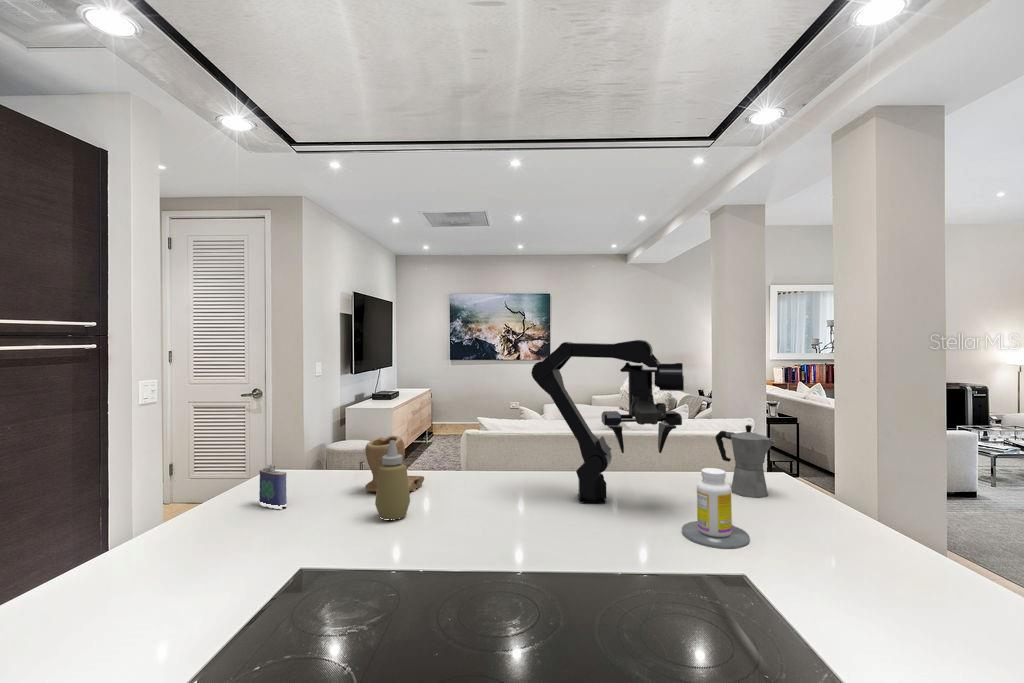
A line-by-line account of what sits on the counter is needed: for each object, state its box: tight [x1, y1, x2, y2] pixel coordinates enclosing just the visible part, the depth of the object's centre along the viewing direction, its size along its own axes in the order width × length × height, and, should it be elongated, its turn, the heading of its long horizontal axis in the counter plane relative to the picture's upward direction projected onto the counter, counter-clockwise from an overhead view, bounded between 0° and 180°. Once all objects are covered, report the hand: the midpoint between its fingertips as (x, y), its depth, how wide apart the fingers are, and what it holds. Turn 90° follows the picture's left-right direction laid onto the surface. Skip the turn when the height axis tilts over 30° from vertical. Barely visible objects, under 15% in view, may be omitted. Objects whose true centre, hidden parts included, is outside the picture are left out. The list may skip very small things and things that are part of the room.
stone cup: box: [364, 435, 425, 493], centre depth 133 cm, size 15×12×15 cm
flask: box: [258, 463, 288, 506], centre depth 121 cm, size 9×3×11 cm, turn 61°
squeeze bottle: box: [374, 440, 411, 520], centre depth 113 cm, size 8×8×18 cm
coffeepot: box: [714, 424, 777, 499], centre depth 129 cm, size 15×9×18 cm, turn 44°
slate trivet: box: [681, 520, 751, 550], centre depth 100 cm, size 13×13×1 cm
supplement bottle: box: [696, 467, 733, 537], centre depth 100 cm, size 7×7×13 cm
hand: (641, 452), depth 119 cm, fingers open, 9 cm apart
